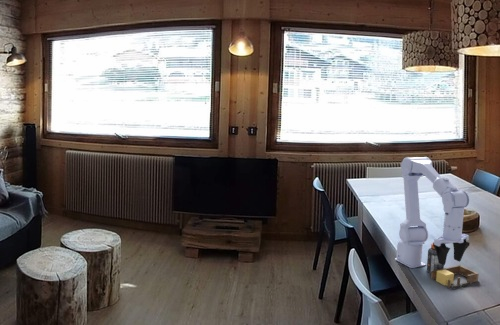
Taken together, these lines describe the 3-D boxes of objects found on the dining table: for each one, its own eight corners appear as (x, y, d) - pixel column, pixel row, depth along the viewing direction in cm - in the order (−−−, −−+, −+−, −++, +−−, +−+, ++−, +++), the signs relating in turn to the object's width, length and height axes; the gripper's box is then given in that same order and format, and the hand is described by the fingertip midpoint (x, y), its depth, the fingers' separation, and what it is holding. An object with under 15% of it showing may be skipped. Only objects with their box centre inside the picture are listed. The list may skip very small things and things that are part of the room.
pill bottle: (427, 267, 155) (429, 240, 153) (443, 270, 152) (446, 243, 150) (425, 272, 150) (427, 245, 148) (442, 276, 147) (444, 248, 145)
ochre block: (436, 281, 144) (436, 270, 143) (443, 279, 145) (444, 269, 144) (445, 285, 140) (445, 275, 139) (453, 283, 141) (454, 273, 141)
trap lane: (430, 278, 145) (431, 271, 145) (459, 272, 151) (459, 265, 150) (451, 289, 137) (451, 281, 136) (480, 282, 142) (481, 274, 142)
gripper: (447, 231, 127) (444, 270, 129) (478, 226, 132) (474, 263, 135) (430, 225, 133) (427, 262, 136) (460, 220, 139) (456, 255, 141)
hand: (449, 262), depth 136 cm, fingers open, 7 cm apart
